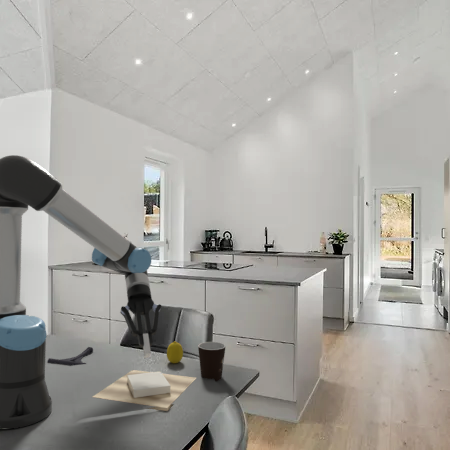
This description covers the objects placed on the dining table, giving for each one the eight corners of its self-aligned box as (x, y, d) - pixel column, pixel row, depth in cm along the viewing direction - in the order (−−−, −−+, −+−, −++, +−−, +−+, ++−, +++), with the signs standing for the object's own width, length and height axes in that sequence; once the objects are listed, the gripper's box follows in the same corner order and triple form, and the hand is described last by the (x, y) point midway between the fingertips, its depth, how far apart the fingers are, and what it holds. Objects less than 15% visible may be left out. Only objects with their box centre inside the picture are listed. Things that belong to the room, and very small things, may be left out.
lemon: (186, 364, 137) (186, 341, 138) (173, 368, 133) (174, 344, 134) (175, 361, 141) (176, 338, 141) (163, 364, 137) (163, 341, 137)
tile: (127, 375, 119) (134, 390, 108) (160, 371, 123) (170, 385, 111) (127, 382, 119) (133, 398, 108) (160, 378, 123) (170, 393, 111)
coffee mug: (215, 385, 120) (215, 351, 120) (192, 379, 125) (192, 346, 125) (235, 373, 130) (235, 342, 130) (212, 368, 134) (213, 338, 134)
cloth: (167, 411, 102) (167, 408, 102) (92, 399, 108) (92, 396, 108) (196, 380, 123) (196, 377, 123) (132, 372, 129) (132, 369, 130)
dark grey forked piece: (108, 355, 148) (108, 348, 148) (83, 368, 134) (83, 360, 134) (75, 351, 152) (75, 344, 152) (47, 364, 138) (47, 356, 138)
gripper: (156, 295, 137) (167, 359, 121) (116, 297, 132) (123, 364, 117) (159, 282, 132) (172, 346, 117) (119, 283, 127) (126, 351, 112)
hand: (147, 355), depth 117 cm, fingers closed
